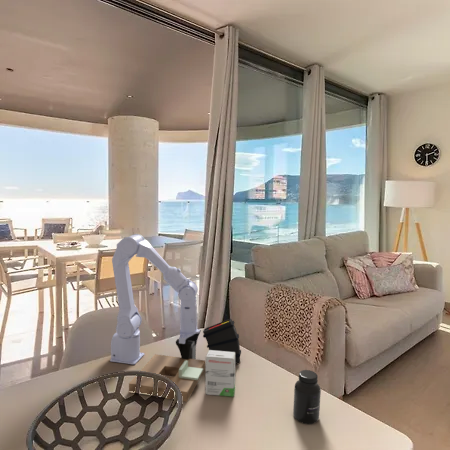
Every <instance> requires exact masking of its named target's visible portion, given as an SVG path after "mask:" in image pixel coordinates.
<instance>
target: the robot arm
mask: <svg viewBox="0 0 450 450" xmlns="http://www.w3.org/2000/svg"><path fill="white" fill-rule="evenodd" d="M134 256H135V257H136V258H145V259H146V260H148V261H149V262H150V263H151V264H152V265H153V266H154V267H156V268H157V270H159V271H160V272H161V273H162V277H163V280H164V281H165V282H166V283H167V284H168V285H169V286H170V287H171V288H172V289H173V290H174V291H175V292H176V293H177V296H178V299H179V300H180V305H179V313H180V314H179V318H180V319H179V325H180V326H179V327H180V329H179V337H178V338H177V339H176V341H175V345H176V346H177V348H178V349H179V353H180V357H181V358H182V359H189V355H190V348H191V345H192V343H193V342H192V341H194V343H195V344H196V345H197V343H198V340H199V339H198V338H199V336H200V334H201V329H198V319H197V318H198V307H197V306H198V304H197V294H198V290H199V289H198V286H197V284H196V283H195V281H192V280H191V279H190V278H188V277H186V276H185V275H184V274H183V273H182V270H181V268H180V267H178V268H177V267H176V266H171V265H169V263H167V261H166V260H165V259H164V258H163V257H162V256H161V255H160V253H159V252H158V251H157V250H156V249H155V248H154V247H153V246H152V244H151V243H150V242H149V241H148V240H147V239H145V237H144V236H143V235H141V234H139V233H134V234H131V235H129V236H125V237H124V238H122V239H120V241H119V242H118V243H117V244H116V249H115V251H114V254H113V256H112V259H111V263H112V268H113V269H112V271H113V276H114V284H115V289H116V295H117V303H118V304H117V305H118V309H119V310H118V313H117V316H116V319H117V320H116V322H117V323H116V326H115V331H116V332H114V334H113V335H112V338H111V341H110V359H109V361H110V362H113V363H119V364H128V365H136V364H137V363H138V362H139V361H140V359H141V358H143V356H145V352H141V337H140V336H141V332H140V328H139V327H140V326H141V324H142V322H143V321H142V320H143V319H142V316H141V314H140V312H139V310H138V309H139V308H138V307H137V306H136V305H135V299H134V292H133V285H132V279H131V278H132V276H131V270H130V265H129V262H130V261H131V259H132V258H134Z"/></svg>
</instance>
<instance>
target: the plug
mask: <svg viewBox="0 0 450 450" xmlns="http://www.w3.org/2000/svg"><path fill="white" fill-rule="evenodd" d="M192 342H193V343H192V345H191V348H190V355H189V359H197V357H196V356H197V355H196V354H197V353H196V352H197V344H195V343H194V341H192Z"/></svg>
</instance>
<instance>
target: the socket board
mask: <svg viewBox="0 0 450 450" xmlns="http://www.w3.org/2000/svg"><path fill="white" fill-rule="evenodd" d="M185 360H187V361H188V367H195V368H202V369H203V371H202V373H201V375H200V377H199V379H198V380H192V379H185V378H179V368H180V367H181V366H182V364H183V363H184V361H185ZM140 371H146V372H152V373H156V374H161V375H163V376H165V377H167V378H169V379H170V380H172V381H173V382H175V384H176V385H177V386H178V387H179V389H180V391H181V393H182V396H183V401H182V402H186V403H188V401H189V399H190V398H191V396H192V394H193V392H194V391H195V389H196V386H197V385H198V383H199V381H200V379H201V377H202V376H203V374H204V372H205V371H206V359H205V360H203V359H197V358H196V359H182V358H181V356H171V355H162V354H156V353H155V354H154V355H153V356H152V357H151V358H150V359H149V361H148V362H147V363H145V365H144V366H143V367H142V368H141V369H140ZM136 378H137V377H136V375H135V376H134V377H133V378H132V379H131V381H129V383H128V392H129V391H133V392H134V391H135V387H136ZM153 384H154V382H153V379H152V378H147V377H142V380H141V387H140V392H141V393H147V394H150V395H151V394H152V392H153ZM165 389H166V384H165V383H164V382H162V381H159V382H158V392H157V393H158V396H161V395H162V394H163V392H164V390H165ZM173 398H174V391H173V390H172V389H170V392H169V394H168V396H167V398H166V399H167V400H171V399H173ZM166 399H165V400H166Z"/></svg>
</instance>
